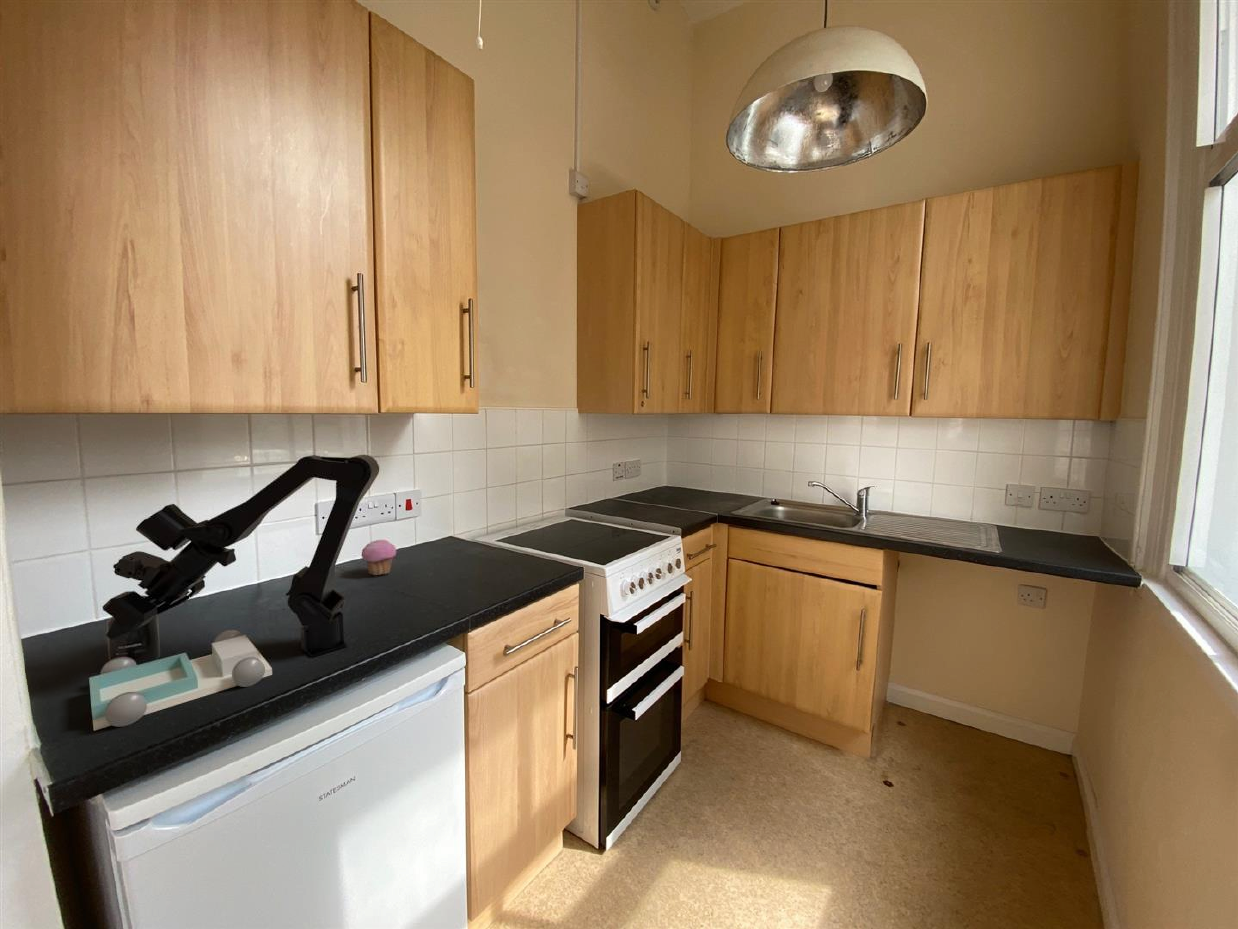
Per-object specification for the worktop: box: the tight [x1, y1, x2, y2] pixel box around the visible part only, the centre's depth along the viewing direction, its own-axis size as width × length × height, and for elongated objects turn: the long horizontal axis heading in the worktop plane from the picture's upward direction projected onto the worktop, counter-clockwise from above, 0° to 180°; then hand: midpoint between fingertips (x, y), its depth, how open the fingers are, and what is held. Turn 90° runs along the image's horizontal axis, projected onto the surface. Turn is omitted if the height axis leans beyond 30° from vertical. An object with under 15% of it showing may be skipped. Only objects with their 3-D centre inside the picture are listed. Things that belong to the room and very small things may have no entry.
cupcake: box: [361, 539, 397, 576], centre depth 145 cm, size 9×9×10 cm
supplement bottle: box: [106, 595, 161, 665], centre depth 93 cm, size 7×7×12 cm
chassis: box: [88, 629, 273, 731], centre depth 86 cm, size 22×17×4 cm
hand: (124, 628), depth 93 cm, fingers closed on supplement bottle, 7 cm apart
